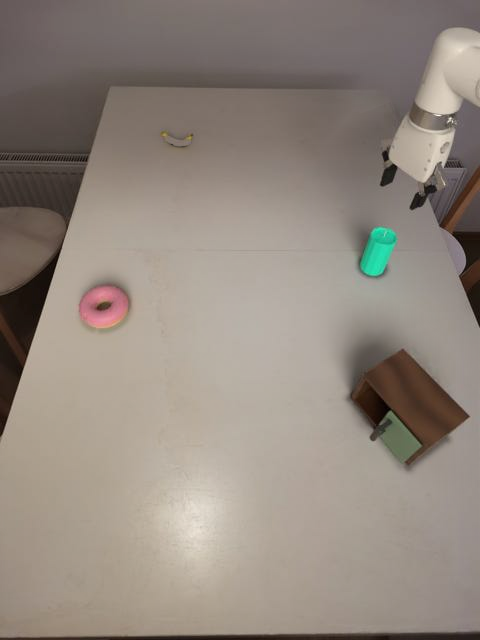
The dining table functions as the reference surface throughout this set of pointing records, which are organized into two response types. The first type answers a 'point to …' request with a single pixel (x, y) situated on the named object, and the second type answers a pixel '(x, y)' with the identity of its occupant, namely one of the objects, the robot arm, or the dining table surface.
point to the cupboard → (408, 401)
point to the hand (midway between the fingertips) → (400, 195)
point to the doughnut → (108, 315)
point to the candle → (378, 251)
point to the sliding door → (396, 437)
